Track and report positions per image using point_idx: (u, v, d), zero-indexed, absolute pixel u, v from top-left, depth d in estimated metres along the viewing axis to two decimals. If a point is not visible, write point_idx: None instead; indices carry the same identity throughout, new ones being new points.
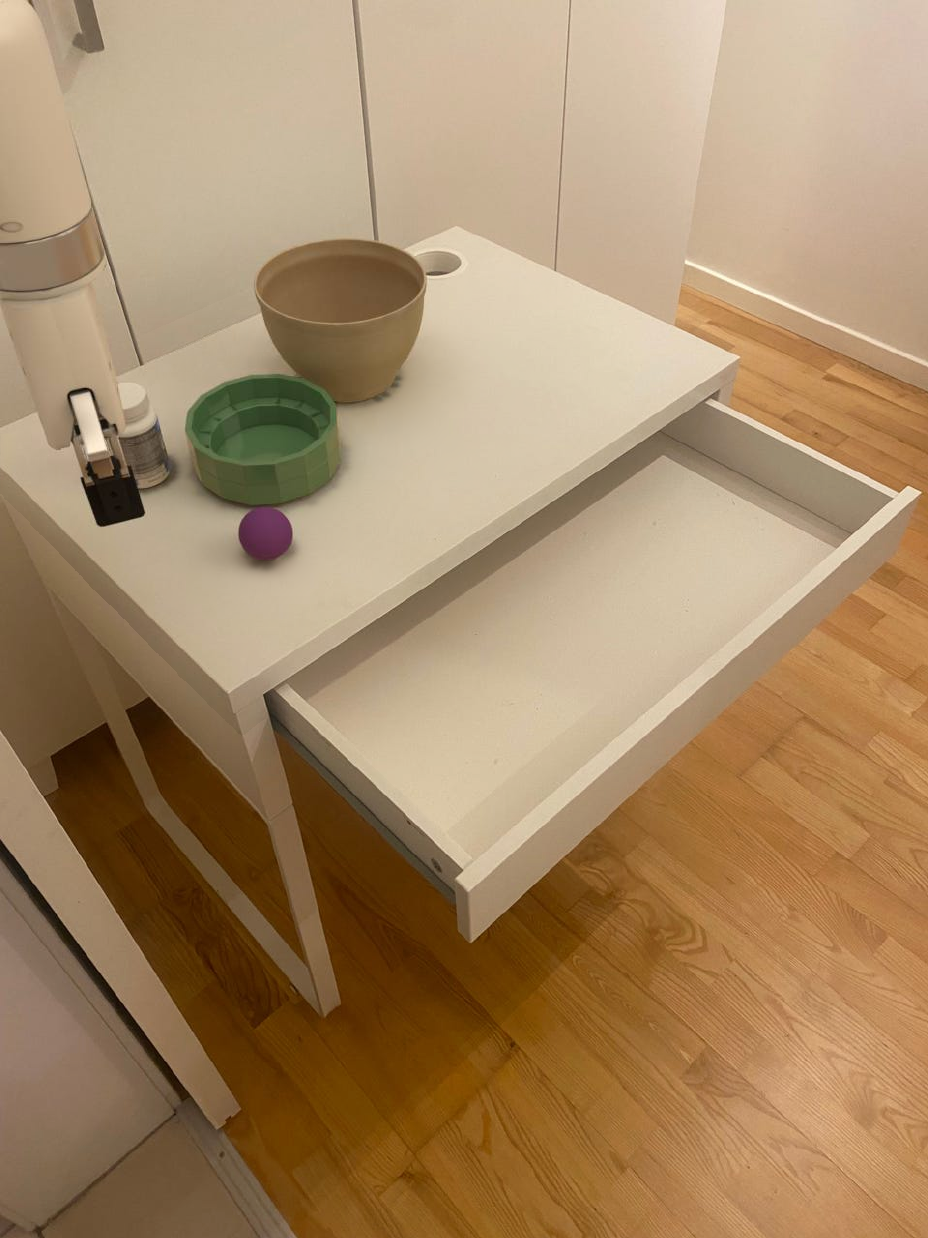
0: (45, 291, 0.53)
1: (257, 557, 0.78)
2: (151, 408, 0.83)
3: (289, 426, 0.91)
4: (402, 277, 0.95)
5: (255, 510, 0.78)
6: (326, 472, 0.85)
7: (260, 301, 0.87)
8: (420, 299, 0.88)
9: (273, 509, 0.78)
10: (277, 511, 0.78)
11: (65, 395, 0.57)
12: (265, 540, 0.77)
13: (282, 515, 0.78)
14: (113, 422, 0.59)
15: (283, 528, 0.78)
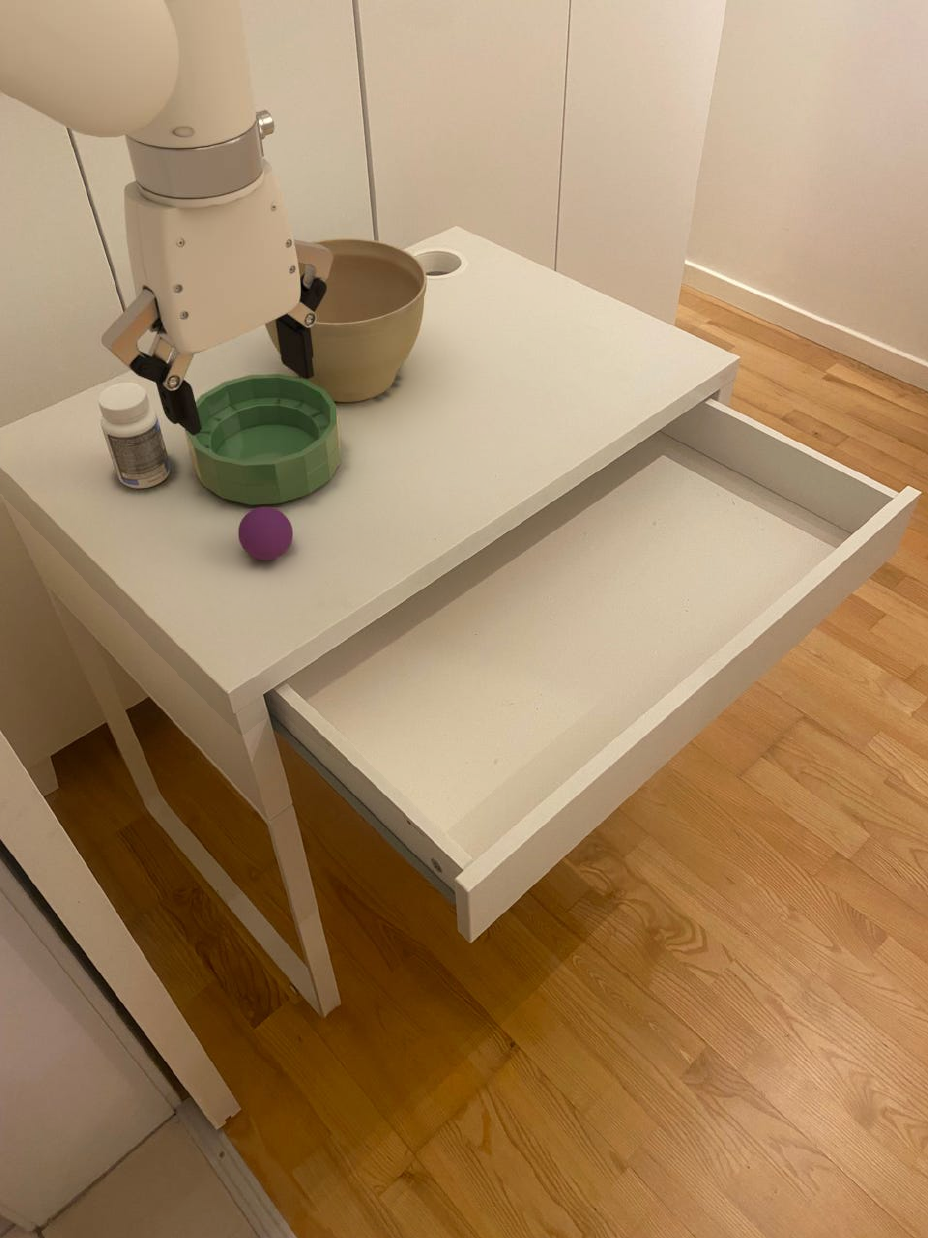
0: (144, 190, 0.55)
1: (257, 557, 0.78)
2: (151, 408, 0.83)
3: (289, 426, 0.91)
4: (402, 277, 0.95)
5: (255, 510, 0.78)
6: (326, 472, 0.85)
7: None
8: (420, 299, 0.88)
9: (273, 509, 0.78)
10: (277, 511, 0.78)
11: (141, 286, 0.59)
12: (265, 540, 0.77)
13: (282, 515, 0.78)
14: (170, 336, 0.60)
15: (283, 528, 0.78)
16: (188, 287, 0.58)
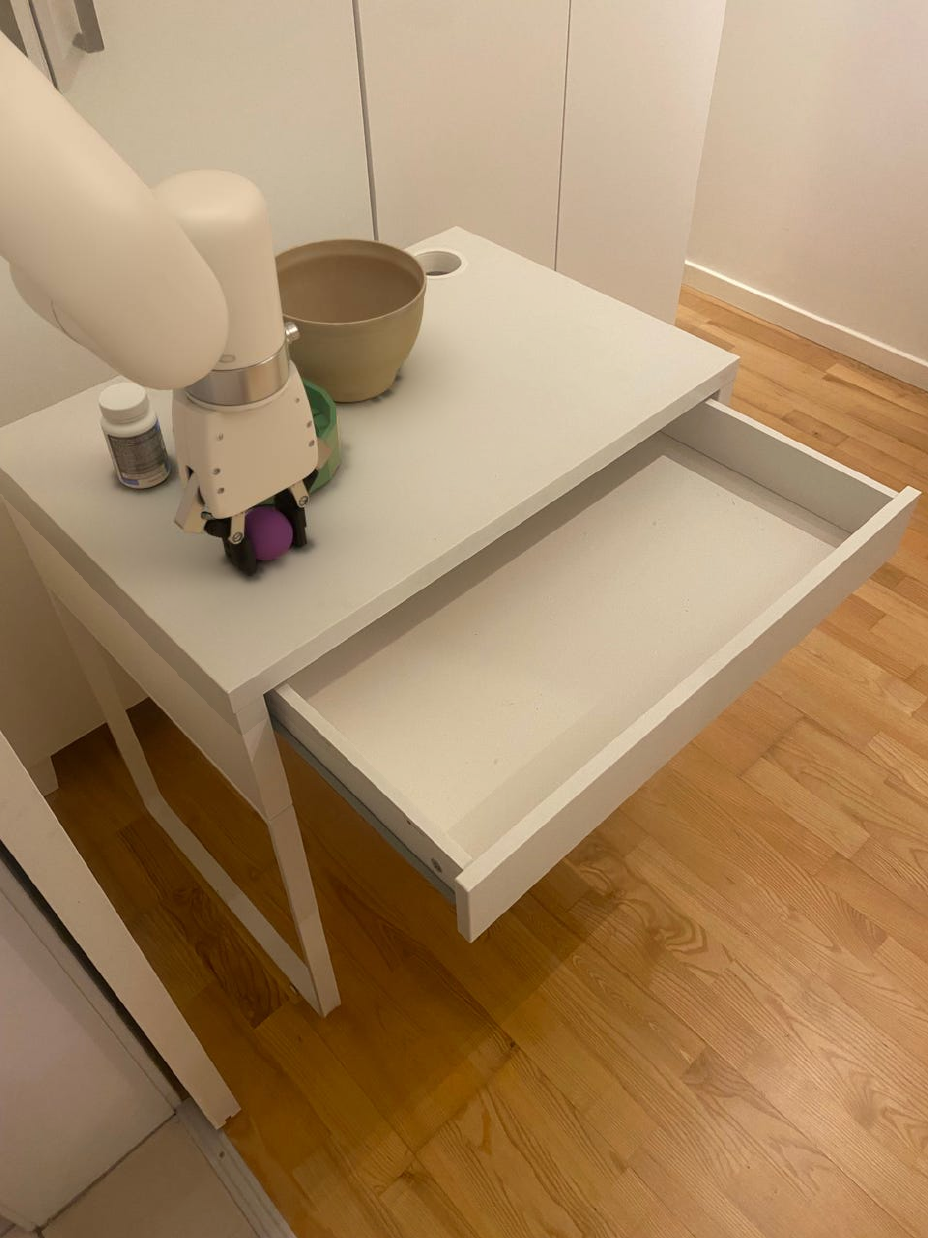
0: (190, 395, 0.66)
1: (257, 557, 0.78)
2: (151, 408, 0.83)
3: None
4: (402, 277, 0.95)
5: (255, 510, 0.78)
6: (326, 472, 0.85)
7: None
8: (420, 299, 0.88)
9: (273, 509, 0.78)
10: (277, 511, 0.78)
11: (184, 465, 0.70)
12: (265, 541, 0.77)
13: (282, 515, 0.78)
14: None
15: (283, 528, 0.78)
16: (225, 469, 0.69)
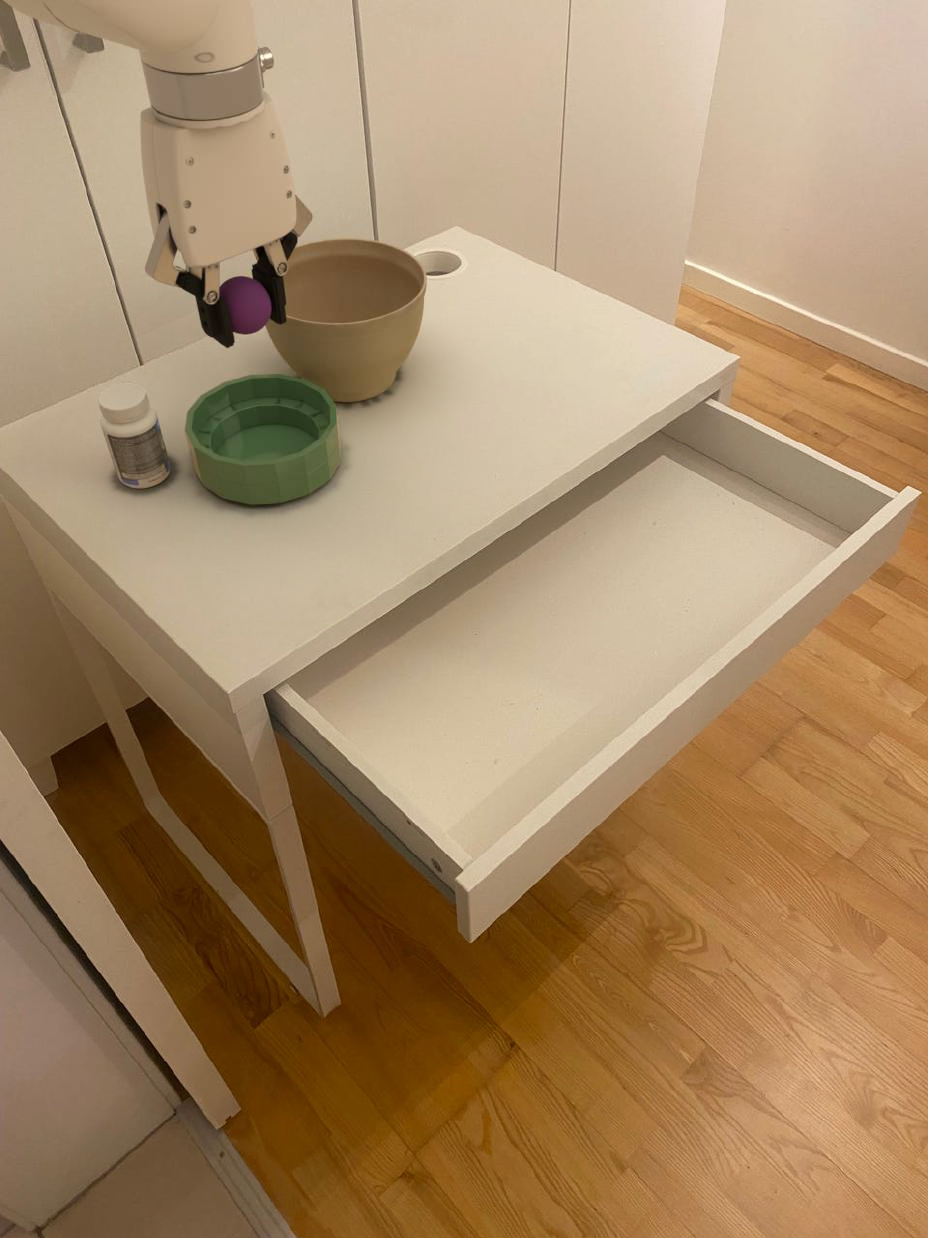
0: (158, 113, 0.63)
1: (234, 328, 0.75)
2: (151, 408, 0.83)
3: (289, 426, 0.91)
4: (402, 277, 0.95)
5: (232, 278, 0.75)
6: (326, 472, 0.85)
7: None
8: (420, 299, 0.88)
9: (251, 278, 0.75)
10: (255, 280, 0.75)
11: (154, 203, 0.67)
12: (242, 307, 0.74)
13: (260, 284, 0.75)
14: None
15: (260, 295, 0.74)
16: (196, 203, 0.66)
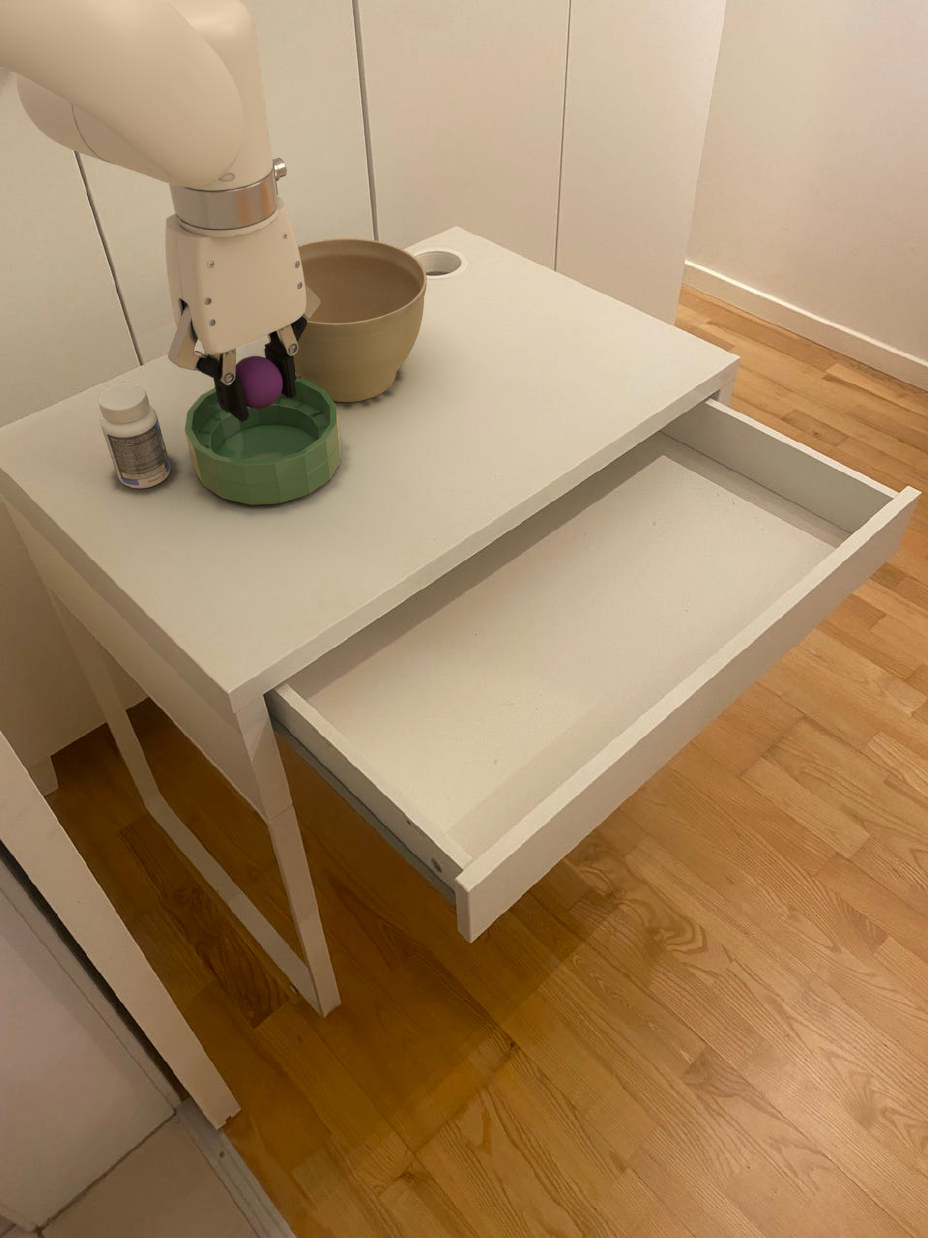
0: (182, 222, 0.69)
1: (248, 404, 0.81)
2: (151, 408, 0.83)
3: (289, 426, 0.91)
4: (402, 277, 0.95)
5: (246, 358, 0.81)
6: (326, 472, 0.85)
7: None
8: (420, 299, 0.88)
9: (263, 357, 0.81)
10: (267, 359, 0.81)
11: (177, 298, 0.73)
12: (256, 385, 0.80)
13: (272, 363, 0.81)
14: None
15: (273, 374, 0.81)
16: (216, 300, 0.72)
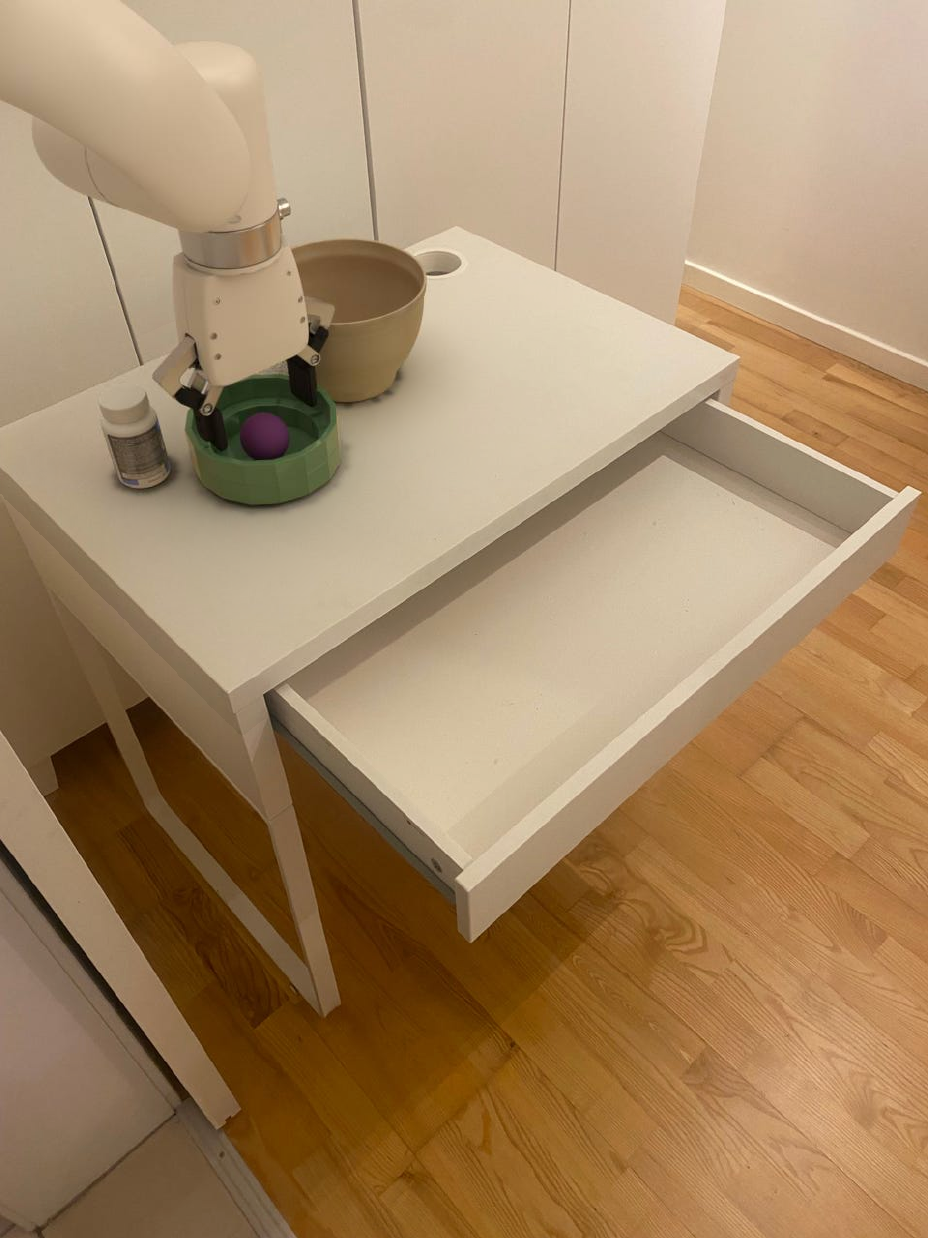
0: (189, 261, 0.71)
1: (257, 458, 0.86)
2: (151, 408, 0.83)
3: (289, 426, 0.91)
4: (402, 277, 0.95)
5: (255, 414, 0.85)
6: (326, 472, 0.85)
7: None
8: (420, 299, 0.88)
9: (272, 414, 0.86)
10: (275, 416, 0.86)
11: (184, 333, 0.75)
12: (265, 441, 0.84)
13: (280, 420, 0.86)
14: (206, 373, 0.76)
15: (280, 430, 0.85)
16: (221, 335, 0.74)
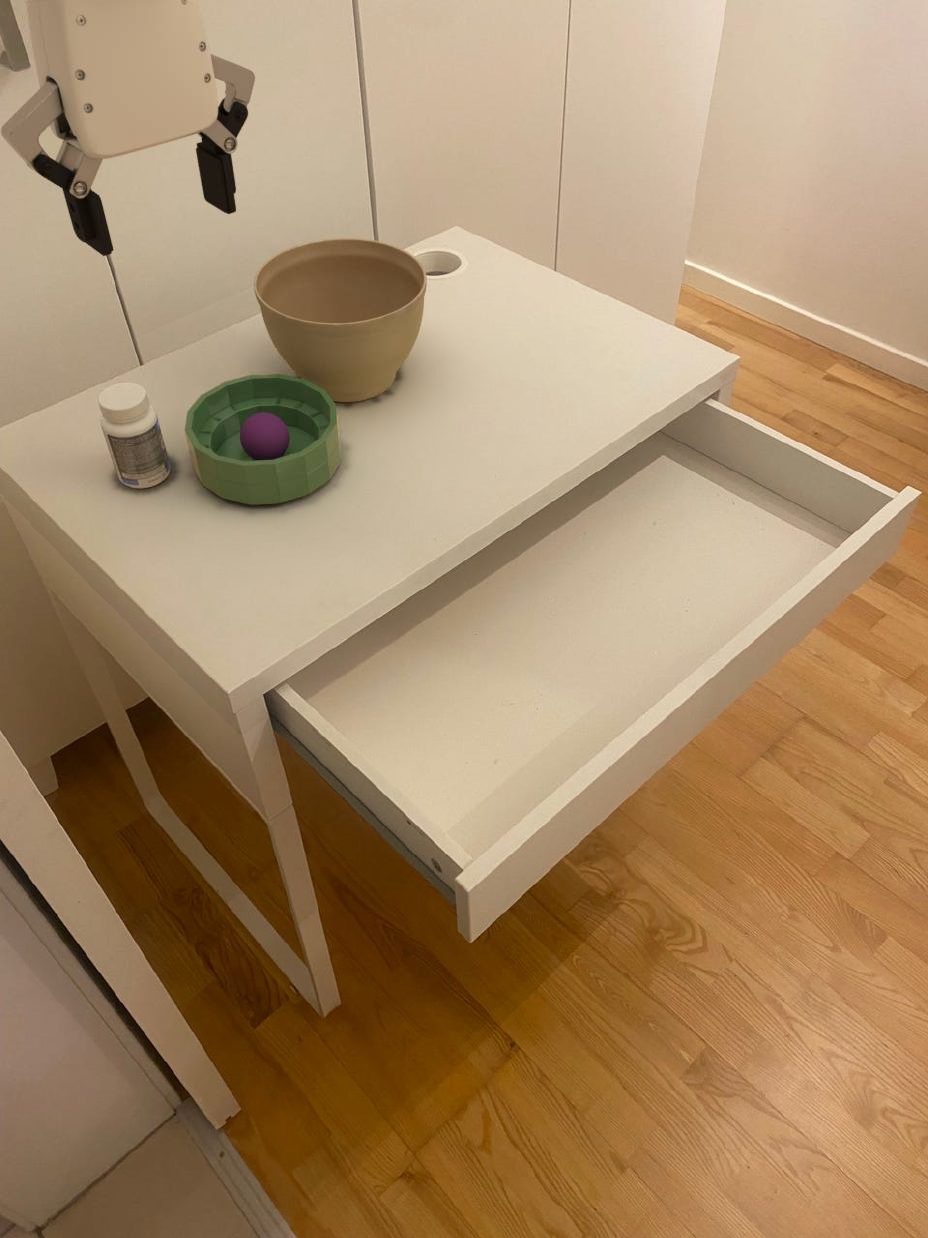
0: None
1: (257, 458, 0.86)
2: (151, 408, 0.83)
3: (289, 426, 0.91)
4: (402, 277, 0.95)
5: (255, 414, 0.85)
6: (326, 472, 0.85)
7: (260, 301, 0.87)
8: (420, 299, 0.88)
9: (272, 414, 0.86)
10: (275, 416, 0.86)
11: (45, 77, 0.57)
12: (265, 441, 0.84)
13: (280, 420, 0.86)
14: (75, 134, 0.58)
15: (280, 430, 0.85)
16: (91, 75, 0.56)
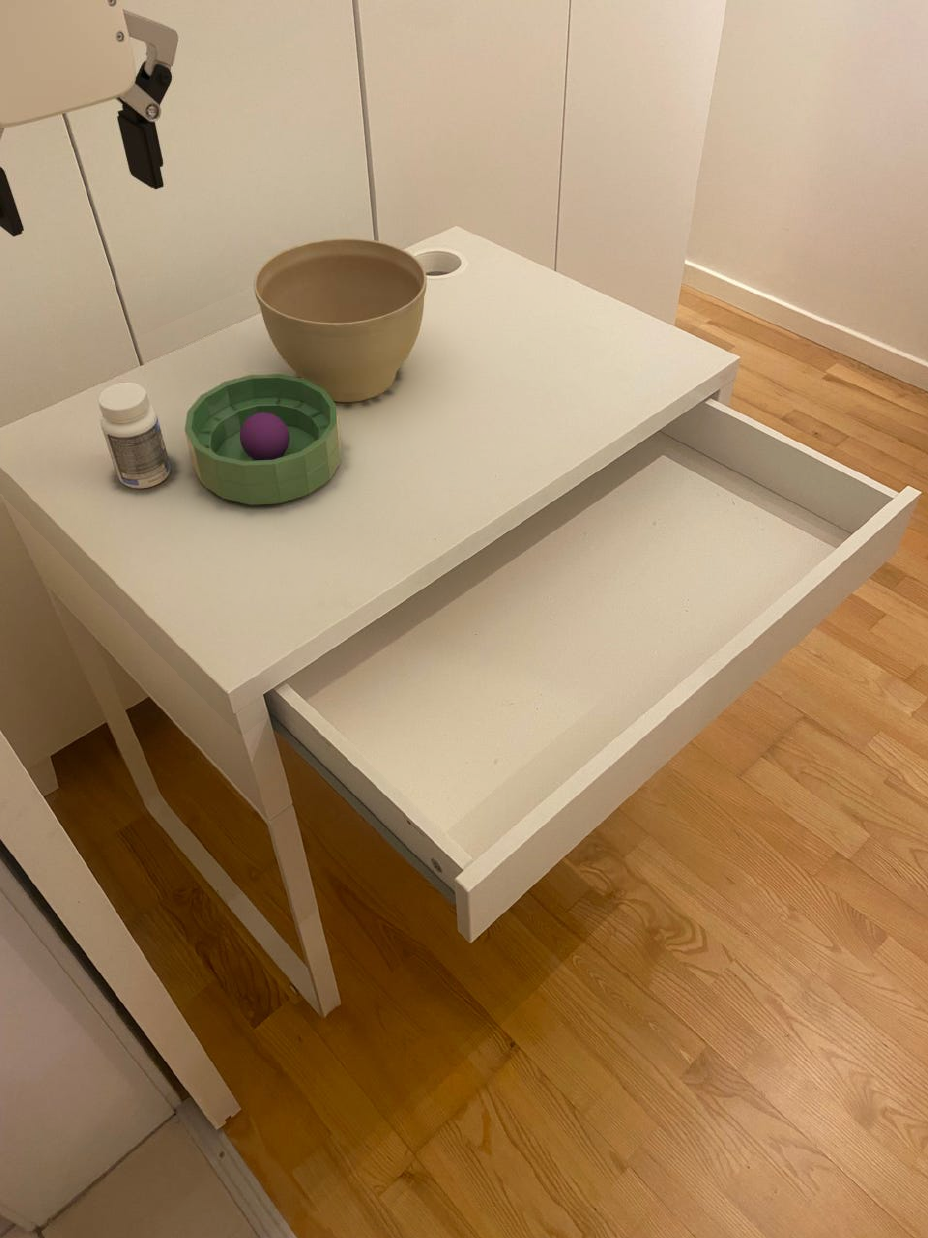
0: None
1: (257, 458, 0.86)
2: (151, 408, 0.83)
3: (289, 426, 0.91)
4: (402, 277, 0.95)
5: (255, 414, 0.85)
6: (326, 472, 0.85)
7: (260, 301, 0.87)
8: (420, 299, 0.88)
9: (272, 414, 0.86)
10: (275, 416, 0.86)
11: None
12: (265, 441, 0.84)
13: (280, 419, 0.86)
14: None
15: (280, 430, 0.85)
16: None
